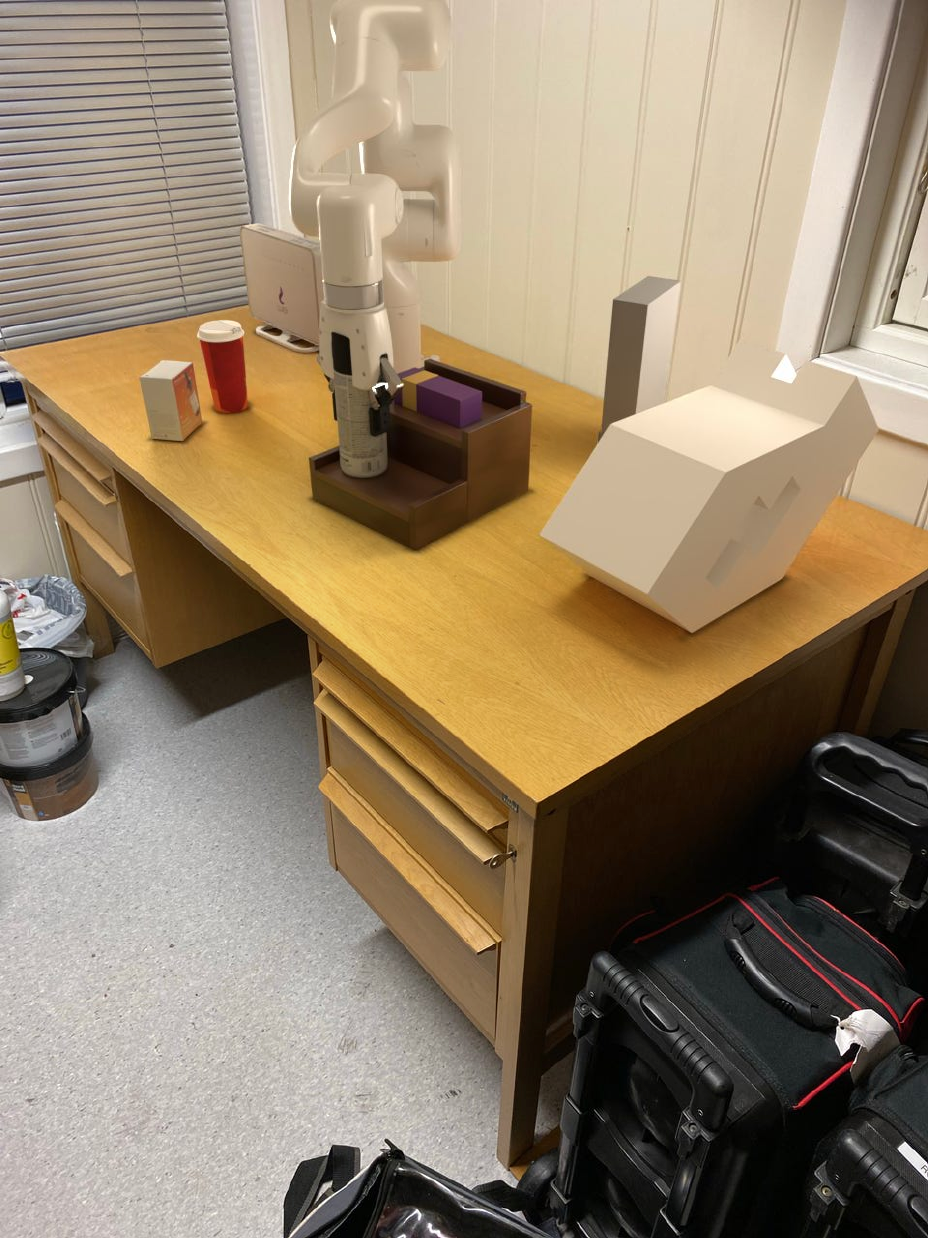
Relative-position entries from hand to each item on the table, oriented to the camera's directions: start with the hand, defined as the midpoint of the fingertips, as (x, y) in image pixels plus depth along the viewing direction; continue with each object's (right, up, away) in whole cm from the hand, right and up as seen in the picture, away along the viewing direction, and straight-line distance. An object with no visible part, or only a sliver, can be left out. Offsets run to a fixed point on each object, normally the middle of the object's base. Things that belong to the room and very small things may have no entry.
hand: (362, 424), depth 131 cm
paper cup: (-26, +10, +35) cm, 45 cm away
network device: (-21, +30, +64) cm, 74 cm away
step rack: (+8, -9, +8) cm, 14 cm away
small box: (-33, +4, +26) cm, 42 cm away
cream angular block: (+44, -20, -8) cm, 49 cm away
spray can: (0, -6, +4) cm, 7 cm away
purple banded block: (+10, +3, +3) cm, 11 cm away
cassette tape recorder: (+40, 0, +21) cm, 45 cm away
